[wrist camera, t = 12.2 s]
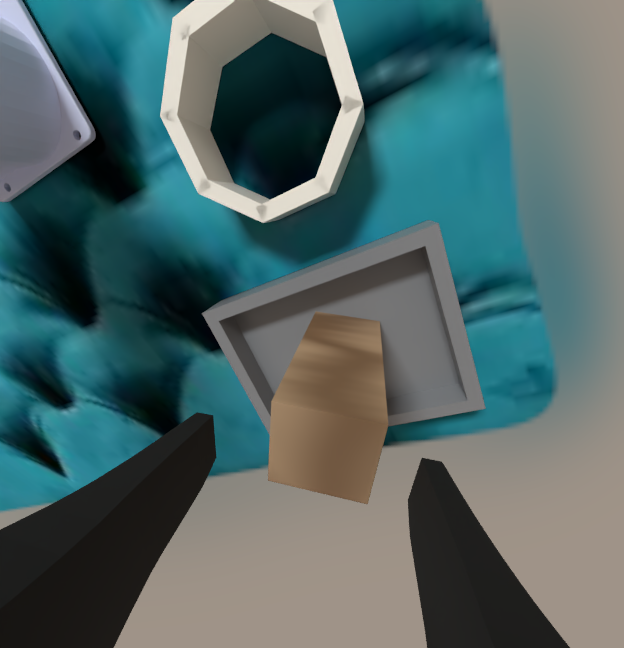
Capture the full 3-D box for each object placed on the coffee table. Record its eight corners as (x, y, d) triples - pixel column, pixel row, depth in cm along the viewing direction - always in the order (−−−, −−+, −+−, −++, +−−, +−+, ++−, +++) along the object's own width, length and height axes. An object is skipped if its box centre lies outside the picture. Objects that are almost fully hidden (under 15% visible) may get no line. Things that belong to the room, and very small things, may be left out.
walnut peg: (309, 365, 20) (268, 480, 12) (315, 311, 18) (271, 401, 10) (368, 375, 19) (367, 504, 11) (379, 321, 18) (388, 424, 9)
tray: (285, 422, 23) (276, 446, 21) (220, 300, 20) (201, 313, 18) (471, 383, 19) (485, 408, 17) (428, 219, 16) (438, 223, 13)
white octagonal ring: (244, 236, 18) (222, 242, 15) (171, 79, 15) (128, 53, 13) (380, 173, 15) (382, 167, 12) (319, -29, 13) (305, -92, 10)
